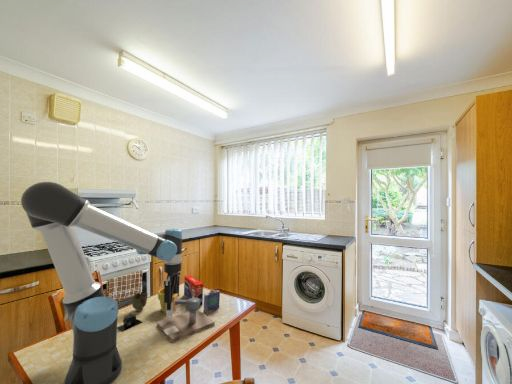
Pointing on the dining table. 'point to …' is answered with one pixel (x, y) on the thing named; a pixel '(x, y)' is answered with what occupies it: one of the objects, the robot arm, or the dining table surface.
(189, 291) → the toy box
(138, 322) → the black rounded lump
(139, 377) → the dining table surface
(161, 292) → the plant pot
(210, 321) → the post base
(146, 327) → the dining table surface
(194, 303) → the grey joystick lever
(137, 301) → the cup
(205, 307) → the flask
